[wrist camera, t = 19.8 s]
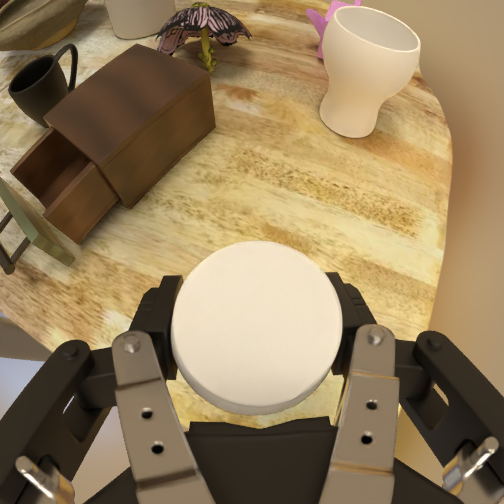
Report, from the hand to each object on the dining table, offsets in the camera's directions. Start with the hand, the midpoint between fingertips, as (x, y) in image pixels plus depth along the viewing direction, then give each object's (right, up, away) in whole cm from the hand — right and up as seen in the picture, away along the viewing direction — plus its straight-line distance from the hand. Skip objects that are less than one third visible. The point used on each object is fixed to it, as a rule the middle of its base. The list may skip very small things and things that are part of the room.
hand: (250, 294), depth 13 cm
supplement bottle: (0, -3, +4) cm, 5 cm away
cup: (+13, +20, +26) cm, 35 cm away
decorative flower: (-7, +31, +29) cm, 43 cm away
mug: (-29, +24, +27) cm, 47 cm away
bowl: (-45, +51, +36) cm, 77 cm away
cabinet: (-14, +15, +24) cm, 31 cm away
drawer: (-21, +7, +20) cm, 30 cm away
